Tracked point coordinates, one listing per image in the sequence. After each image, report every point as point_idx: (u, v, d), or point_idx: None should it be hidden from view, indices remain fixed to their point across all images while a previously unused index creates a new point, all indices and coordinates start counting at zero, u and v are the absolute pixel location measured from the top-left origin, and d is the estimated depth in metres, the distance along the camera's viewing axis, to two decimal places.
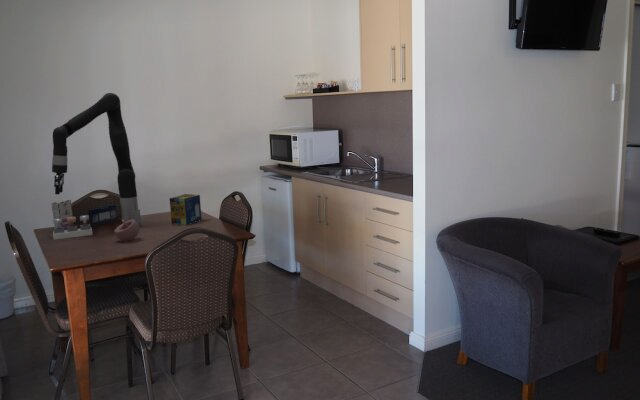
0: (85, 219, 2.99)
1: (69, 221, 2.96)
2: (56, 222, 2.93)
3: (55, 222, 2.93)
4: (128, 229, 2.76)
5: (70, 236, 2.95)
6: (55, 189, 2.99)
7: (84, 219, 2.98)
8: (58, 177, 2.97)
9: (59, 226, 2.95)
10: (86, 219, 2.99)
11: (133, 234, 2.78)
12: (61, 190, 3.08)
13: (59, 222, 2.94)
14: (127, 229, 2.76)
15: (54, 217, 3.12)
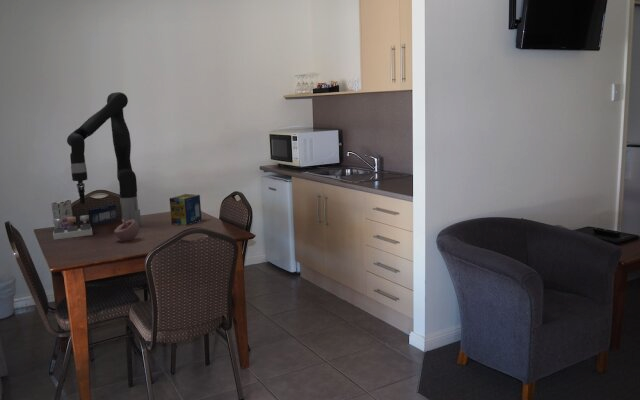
0: (85, 219, 2.99)
1: (69, 221, 2.96)
2: (56, 222, 2.93)
3: (55, 222, 2.93)
4: (128, 229, 2.76)
5: (70, 236, 2.95)
6: (80, 199, 2.96)
7: (84, 219, 2.98)
8: (82, 188, 2.92)
9: (59, 226, 2.95)
10: (86, 219, 2.99)
11: (133, 234, 2.78)
12: None
13: (59, 222, 2.94)
14: (127, 229, 2.76)
15: (54, 217, 3.12)
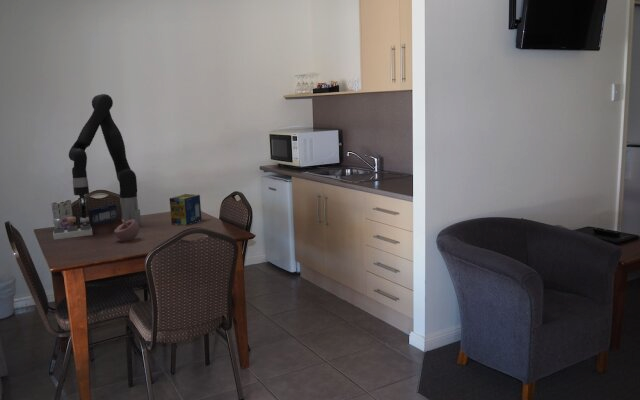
0: (85, 221, 2.99)
1: (69, 221, 2.96)
2: (56, 222, 2.93)
3: (55, 222, 2.93)
4: (128, 229, 2.76)
5: (70, 236, 2.95)
6: (81, 213, 2.99)
7: (84, 221, 2.99)
8: (84, 204, 2.94)
9: (59, 226, 2.95)
10: (86, 221, 2.99)
11: (133, 234, 2.78)
12: None
13: (59, 222, 2.94)
14: (127, 229, 2.76)
15: (54, 217, 3.12)
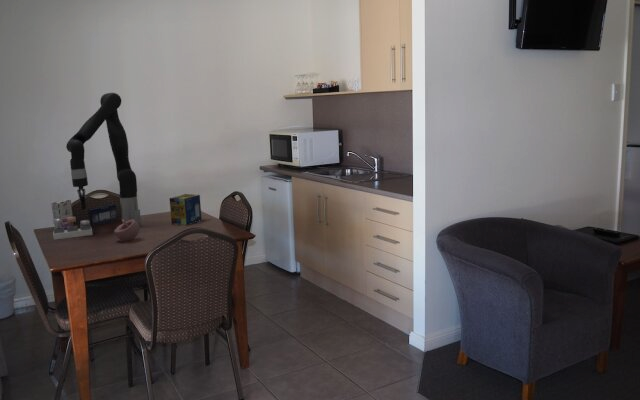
0: (86, 224, 2.99)
1: (69, 221, 2.96)
2: (56, 222, 2.93)
3: (55, 222, 2.93)
4: (128, 229, 2.76)
5: (70, 236, 2.95)
6: (81, 204, 2.98)
7: (85, 224, 2.99)
8: (83, 195, 2.93)
9: (59, 226, 2.95)
10: (87, 224, 2.99)
11: (133, 234, 2.78)
12: None
13: (59, 222, 2.94)
14: (127, 229, 2.76)
15: (54, 217, 3.12)
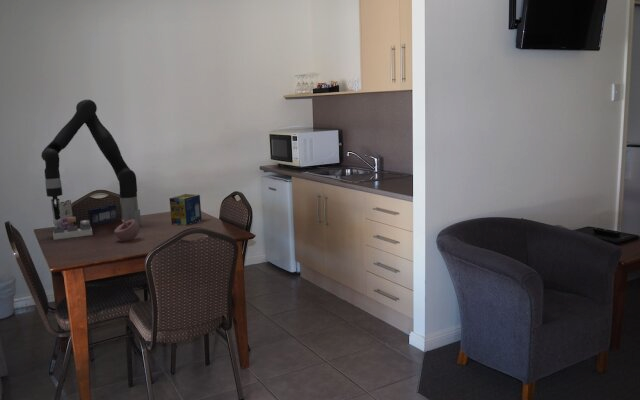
0: (86, 224, 2.99)
1: (69, 221, 2.96)
2: (56, 222, 2.93)
3: (55, 222, 2.93)
4: (128, 229, 2.76)
5: (70, 236, 2.95)
6: None
7: (85, 224, 2.99)
8: (57, 205, 2.89)
9: (59, 226, 2.95)
10: (87, 224, 2.99)
11: (133, 234, 2.78)
12: None
13: (59, 222, 2.94)
14: (127, 229, 2.76)
15: (54, 217, 3.12)
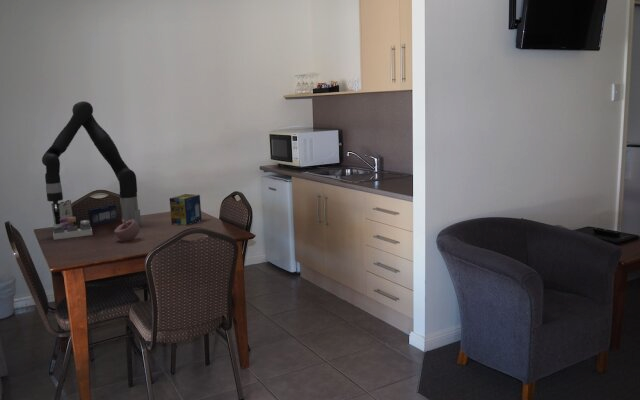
0: (86, 224, 2.99)
1: (69, 221, 2.96)
2: (57, 227, 2.93)
3: (56, 227, 2.93)
4: (128, 229, 2.76)
5: (70, 236, 2.95)
6: (55, 219, 2.94)
7: (85, 224, 2.99)
8: (57, 210, 2.89)
9: None
10: (87, 224, 2.99)
11: (133, 234, 2.78)
12: None
13: (60, 227, 2.94)
14: (127, 229, 2.76)
15: (54, 217, 3.12)
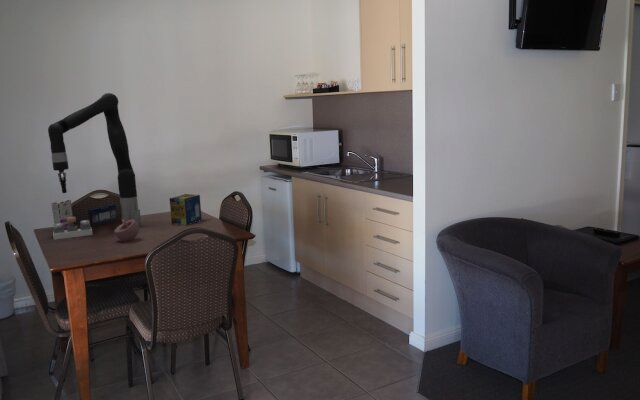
0: (86, 224, 2.99)
1: (69, 221, 2.96)
2: (57, 227, 2.93)
3: (56, 227, 2.93)
4: (128, 229, 2.76)
5: (70, 236, 2.95)
6: (62, 188, 3.00)
7: (85, 224, 2.99)
8: (64, 178, 2.95)
9: None
10: (87, 224, 2.99)
11: (133, 234, 2.78)
12: None
13: (60, 227, 2.94)
14: (127, 229, 2.76)
15: (54, 217, 3.12)
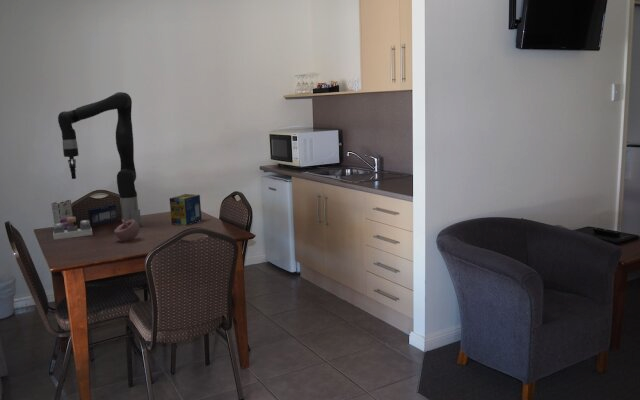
0: (86, 224, 2.99)
1: (69, 221, 2.96)
2: (57, 227, 2.93)
3: (56, 227, 2.93)
4: (128, 229, 2.76)
5: (70, 236, 2.95)
6: (71, 174, 3.10)
7: (85, 224, 2.99)
8: (73, 164, 3.05)
9: None
10: (87, 224, 2.99)
11: (133, 234, 2.78)
12: None
13: (60, 227, 2.94)
14: (127, 229, 2.76)
15: (54, 217, 3.12)
